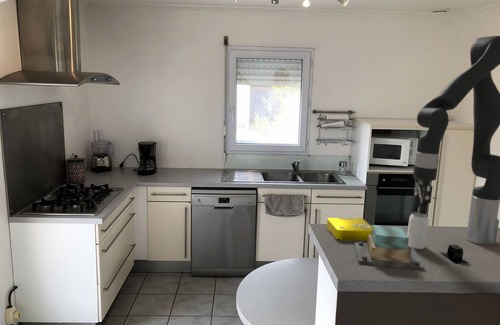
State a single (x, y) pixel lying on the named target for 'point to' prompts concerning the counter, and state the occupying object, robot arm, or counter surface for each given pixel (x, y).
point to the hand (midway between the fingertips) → (419, 210)
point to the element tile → (349, 228)
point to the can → (417, 230)
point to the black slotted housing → (454, 254)
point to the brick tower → (388, 249)
